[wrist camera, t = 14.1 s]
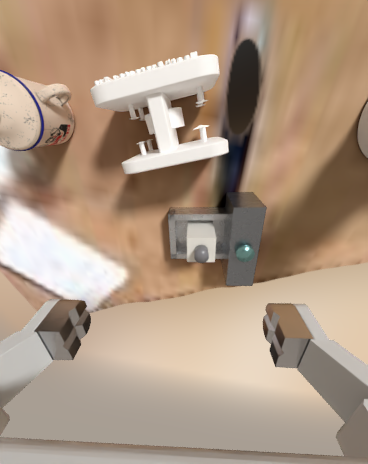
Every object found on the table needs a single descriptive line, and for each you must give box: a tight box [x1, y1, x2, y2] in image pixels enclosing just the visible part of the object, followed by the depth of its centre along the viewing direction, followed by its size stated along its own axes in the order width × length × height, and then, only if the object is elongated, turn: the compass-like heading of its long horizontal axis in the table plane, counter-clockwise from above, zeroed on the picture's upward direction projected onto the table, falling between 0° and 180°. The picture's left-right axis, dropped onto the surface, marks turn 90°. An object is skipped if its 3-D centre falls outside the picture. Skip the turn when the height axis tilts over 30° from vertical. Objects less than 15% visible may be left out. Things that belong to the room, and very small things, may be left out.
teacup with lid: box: [0, 70, 74, 151], centre depth 28 cm, size 12×9×12 cm
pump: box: [187, 221, 216, 263], centre depth 37 cm, size 5×5×9 cm
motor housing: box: [168, 192, 266, 286], centre depth 38 cm, size 16×16×9 cm
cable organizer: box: [90, 51, 228, 174], centre depth 28 cm, size 15×11×12 cm
